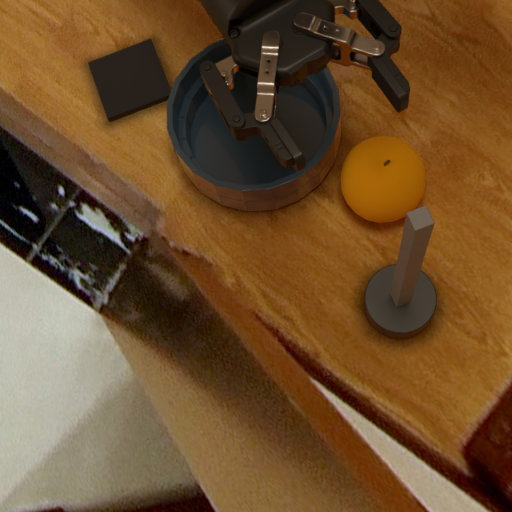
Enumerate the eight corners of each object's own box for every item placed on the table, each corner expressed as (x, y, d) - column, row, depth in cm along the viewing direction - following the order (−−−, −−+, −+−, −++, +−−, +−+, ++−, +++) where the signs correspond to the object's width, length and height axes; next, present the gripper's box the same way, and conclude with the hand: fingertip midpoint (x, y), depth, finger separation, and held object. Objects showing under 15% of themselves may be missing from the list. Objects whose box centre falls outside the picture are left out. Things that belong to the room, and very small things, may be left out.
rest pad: (152, 42, 90) (150, 38, 89) (173, 97, 88) (172, 94, 87) (89, 66, 90) (87, 62, 89) (109, 122, 88) (107, 118, 87)
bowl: (304, 41, 88) (301, 8, 82) (365, 176, 83) (367, 151, 77) (157, 98, 88) (144, 69, 82) (209, 237, 83) (199, 216, 77)
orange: (332, 164, 84) (330, 131, 77) (411, 146, 84) (417, 111, 76) (350, 239, 81) (351, 213, 74) (432, 222, 81) (440, 193, 74)
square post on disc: (416, 261, 80) (445, 158, 57) (445, 323, 78) (487, 242, 55) (353, 286, 80) (356, 193, 57) (380, 349, 78) (394, 278, 55)
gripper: (148, -11, 62) (262, 165, 57) (317, -106, 63) (444, 58, 58) (168, 44, 69) (271, 205, 64) (320, -42, 70) (433, 109, 65)
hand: (353, 135), depth 61 cm, fingers open, 8 cm apart
